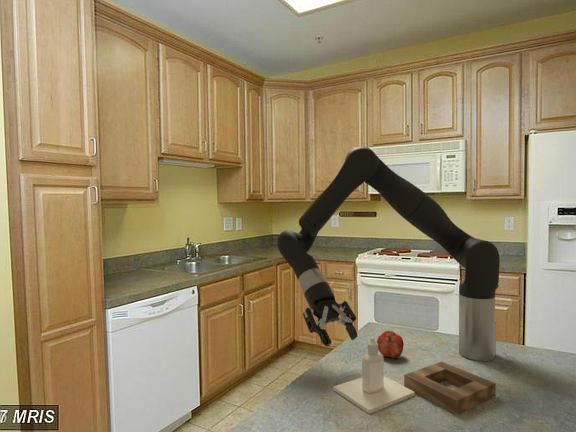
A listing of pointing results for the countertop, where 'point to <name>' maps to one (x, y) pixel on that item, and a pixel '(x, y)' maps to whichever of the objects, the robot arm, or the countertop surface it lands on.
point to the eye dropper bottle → (372, 369)
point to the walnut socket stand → (457, 400)
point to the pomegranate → (390, 344)
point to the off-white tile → (373, 394)
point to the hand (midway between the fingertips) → (342, 341)
